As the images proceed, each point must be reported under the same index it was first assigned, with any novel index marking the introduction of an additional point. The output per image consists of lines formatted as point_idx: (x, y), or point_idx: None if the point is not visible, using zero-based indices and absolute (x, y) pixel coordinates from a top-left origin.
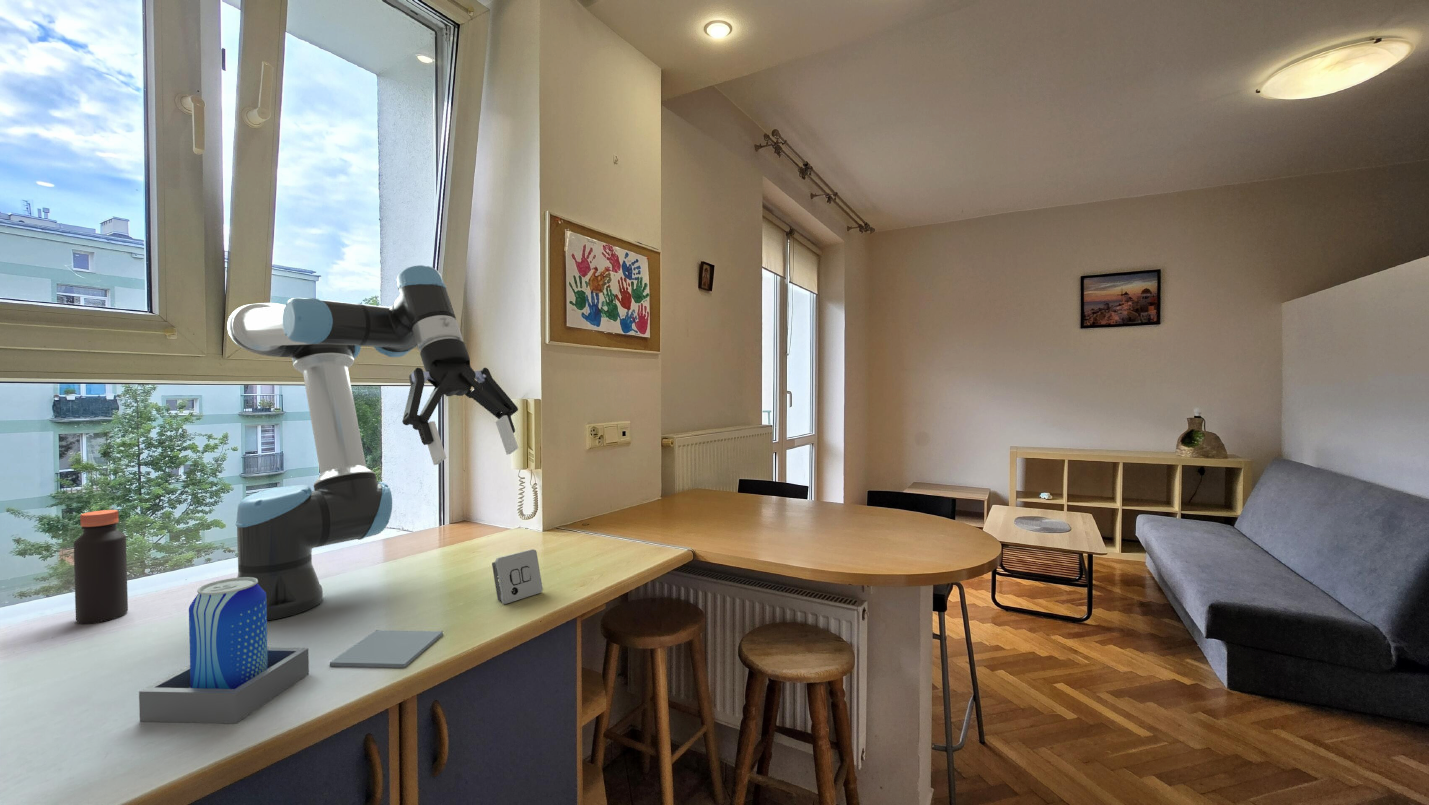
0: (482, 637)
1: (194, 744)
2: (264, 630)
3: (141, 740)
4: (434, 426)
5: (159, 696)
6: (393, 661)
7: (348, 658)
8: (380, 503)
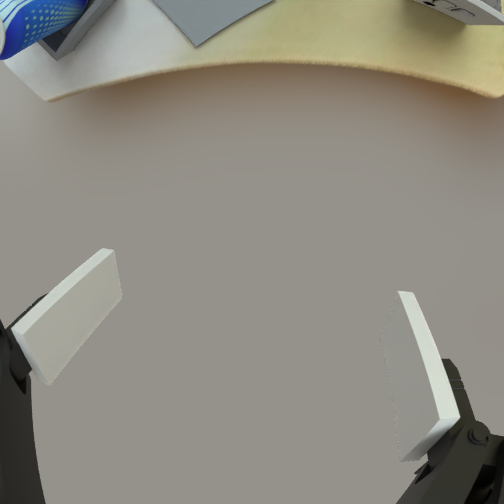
0: (304, 47)
1: (55, 63)
2: (49, 24)
3: None
4: (56, 368)
5: None
6: (189, 32)
7: None
8: None
